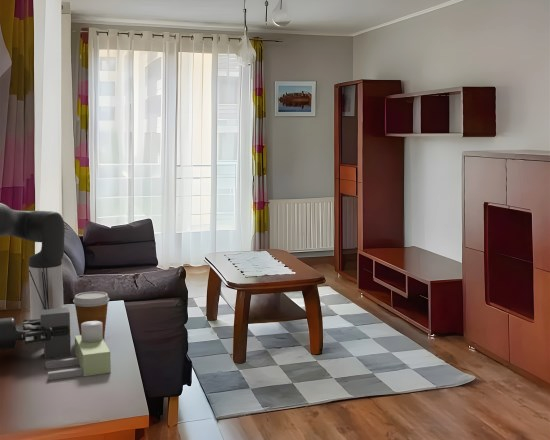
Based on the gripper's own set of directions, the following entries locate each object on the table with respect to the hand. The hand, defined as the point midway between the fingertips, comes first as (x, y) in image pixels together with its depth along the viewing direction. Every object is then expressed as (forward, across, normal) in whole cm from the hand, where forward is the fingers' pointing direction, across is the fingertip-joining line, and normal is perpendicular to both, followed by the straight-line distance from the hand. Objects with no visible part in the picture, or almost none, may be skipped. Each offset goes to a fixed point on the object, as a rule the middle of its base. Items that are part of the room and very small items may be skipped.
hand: (67, 327), depth 158 cm
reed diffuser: (-5, +14, +7) cm, 16 cm away
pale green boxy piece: (+1, -11, +6) cm, 13 cm away
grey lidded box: (-3, 0, +6) cm, 7 cm away
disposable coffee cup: (+7, +10, +7) cm, 14 cm away
